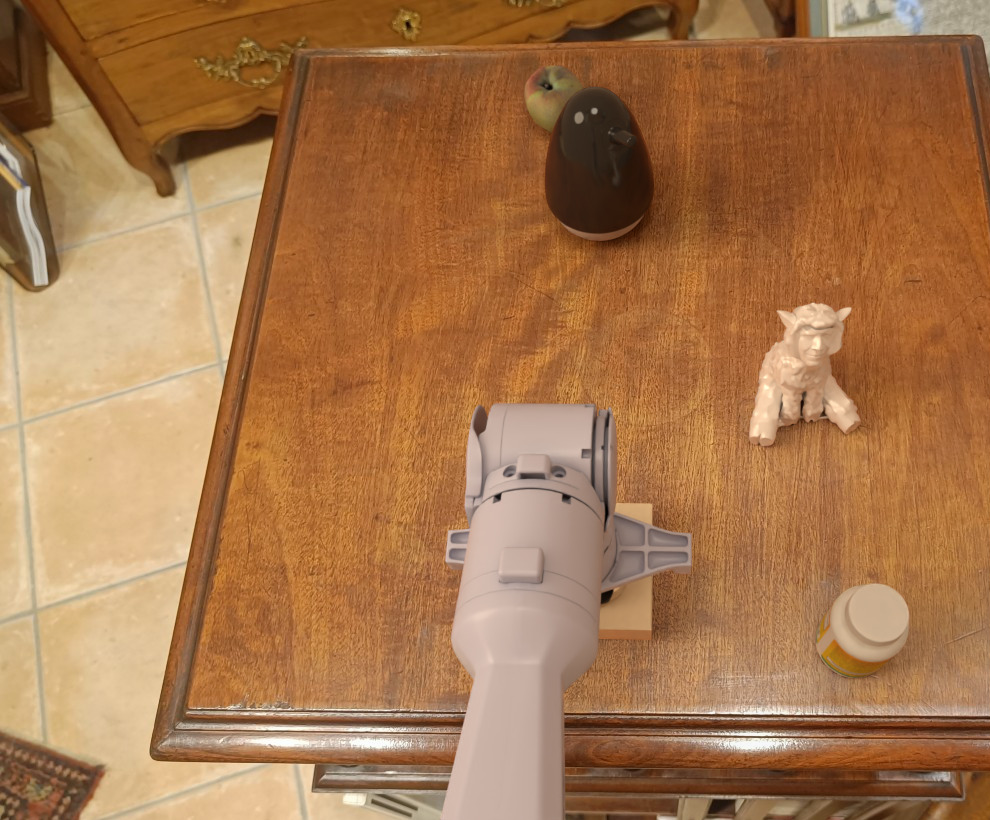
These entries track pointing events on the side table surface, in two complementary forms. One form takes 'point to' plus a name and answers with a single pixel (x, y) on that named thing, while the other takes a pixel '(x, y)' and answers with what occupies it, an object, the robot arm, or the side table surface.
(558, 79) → the apple
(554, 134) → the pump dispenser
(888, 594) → the supplement bottle
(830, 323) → the white creature statuette
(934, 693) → the side table surface
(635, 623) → the push button box
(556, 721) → the robot arm
